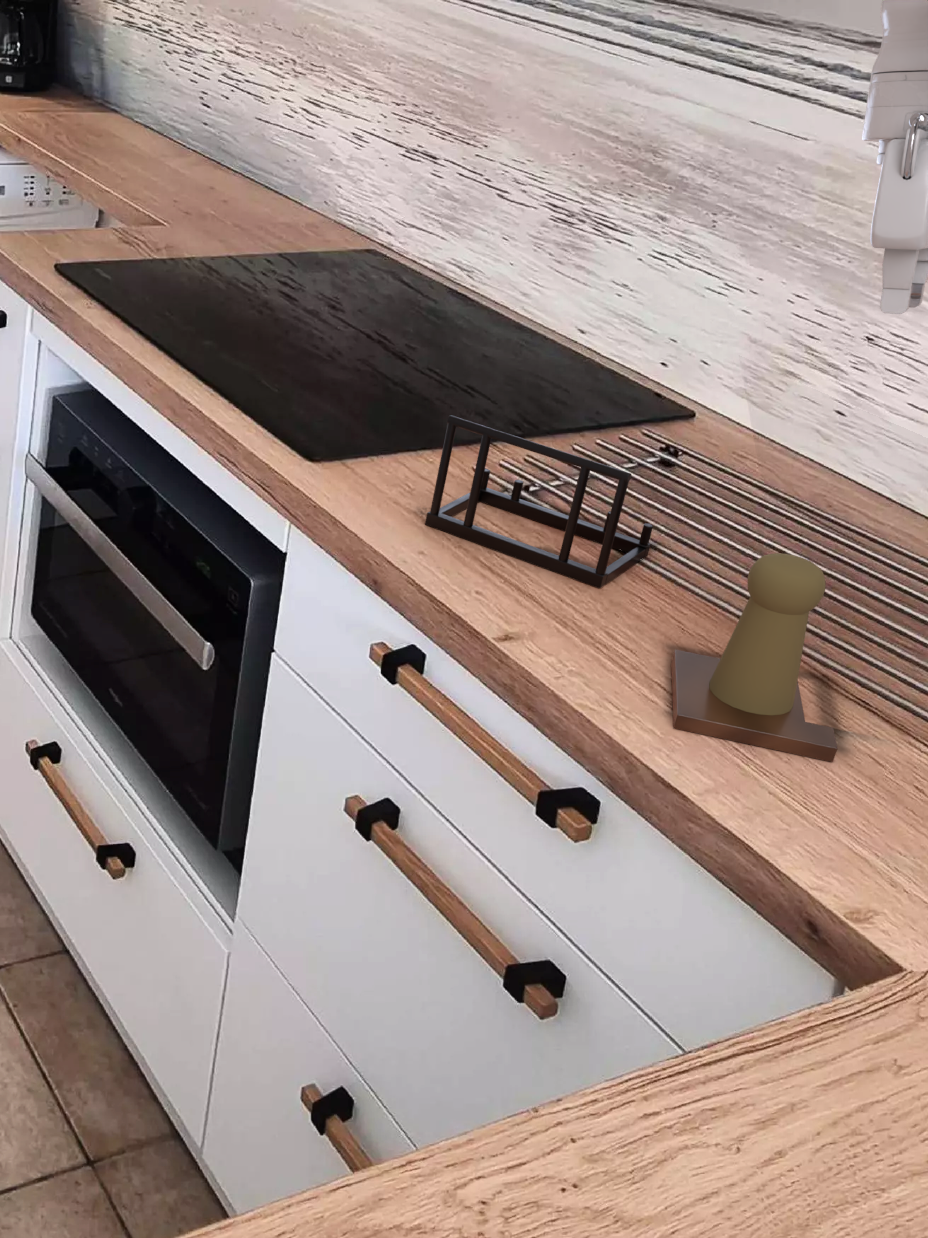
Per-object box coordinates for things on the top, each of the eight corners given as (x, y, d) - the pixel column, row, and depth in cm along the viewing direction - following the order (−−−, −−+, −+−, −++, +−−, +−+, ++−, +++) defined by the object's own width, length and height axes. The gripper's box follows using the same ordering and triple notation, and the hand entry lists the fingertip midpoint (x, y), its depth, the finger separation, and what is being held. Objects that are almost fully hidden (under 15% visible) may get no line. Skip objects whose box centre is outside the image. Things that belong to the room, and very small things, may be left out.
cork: (809, 715, 122) (854, 580, 117) (733, 715, 121) (776, 579, 116) (767, 674, 127) (809, 543, 122) (694, 674, 126) (733, 542, 121)
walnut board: (818, 692, 128) (823, 679, 127) (833, 762, 119) (837, 748, 118) (670, 662, 130) (674, 648, 130) (673, 728, 121) (677, 714, 120)
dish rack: (477, 496, 158) (499, 392, 153) (647, 556, 149) (677, 447, 144) (424, 524, 151) (446, 416, 146) (600, 589, 141) (629, 475, 137)
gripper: (968, 110, 111) (934, 320, 115) (988, 124, 128) (958, 306, 132) (865, 110, 115) (835, 314, 118) (898, 123, 132) (871, 301, 135)
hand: (900, 310), depth 125 cm, fingers open, 8 cm apart
